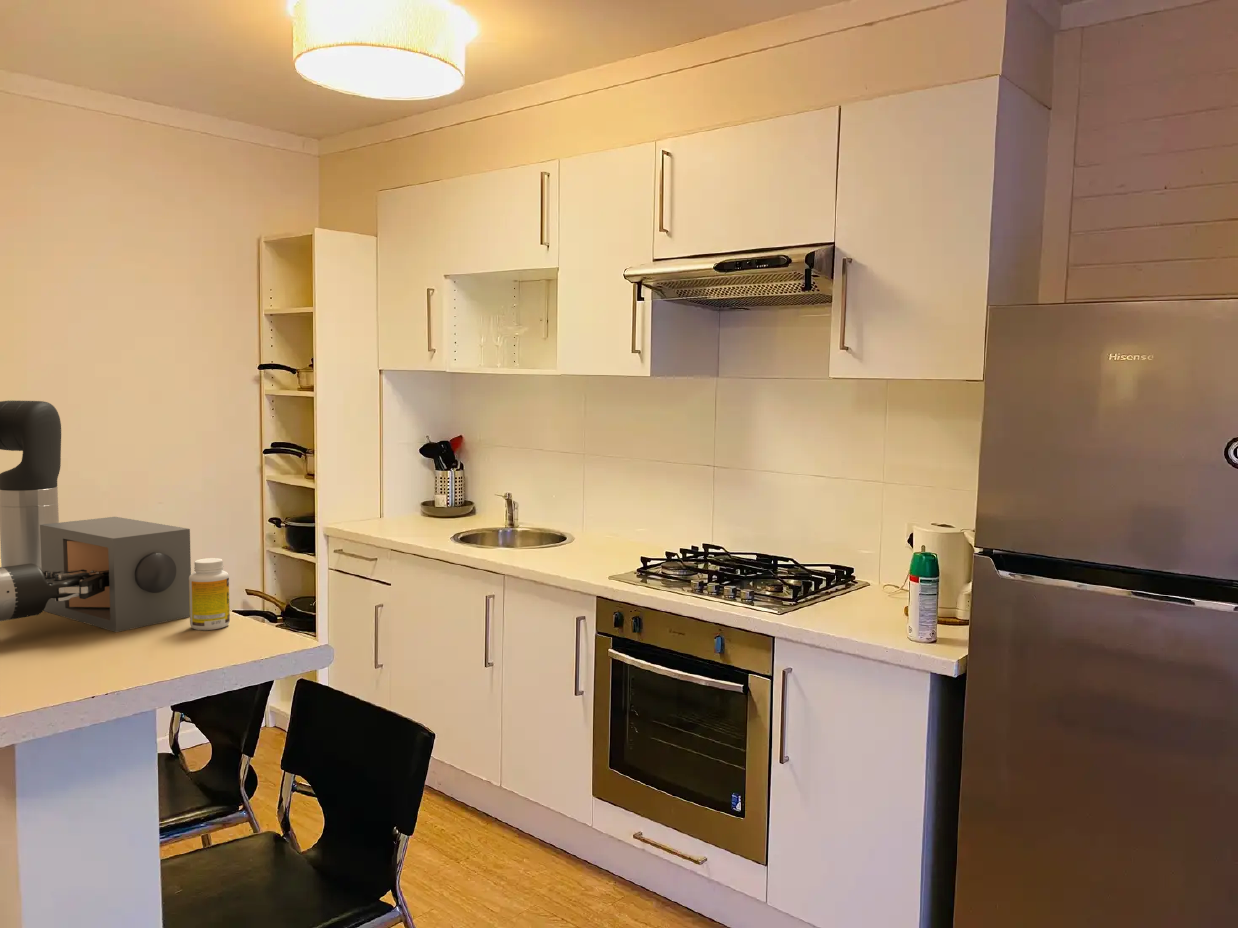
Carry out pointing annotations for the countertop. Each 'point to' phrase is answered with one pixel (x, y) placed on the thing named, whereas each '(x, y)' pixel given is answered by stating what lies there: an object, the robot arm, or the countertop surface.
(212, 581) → the supplement bottle
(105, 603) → the door
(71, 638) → the countertop surface
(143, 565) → the housing
